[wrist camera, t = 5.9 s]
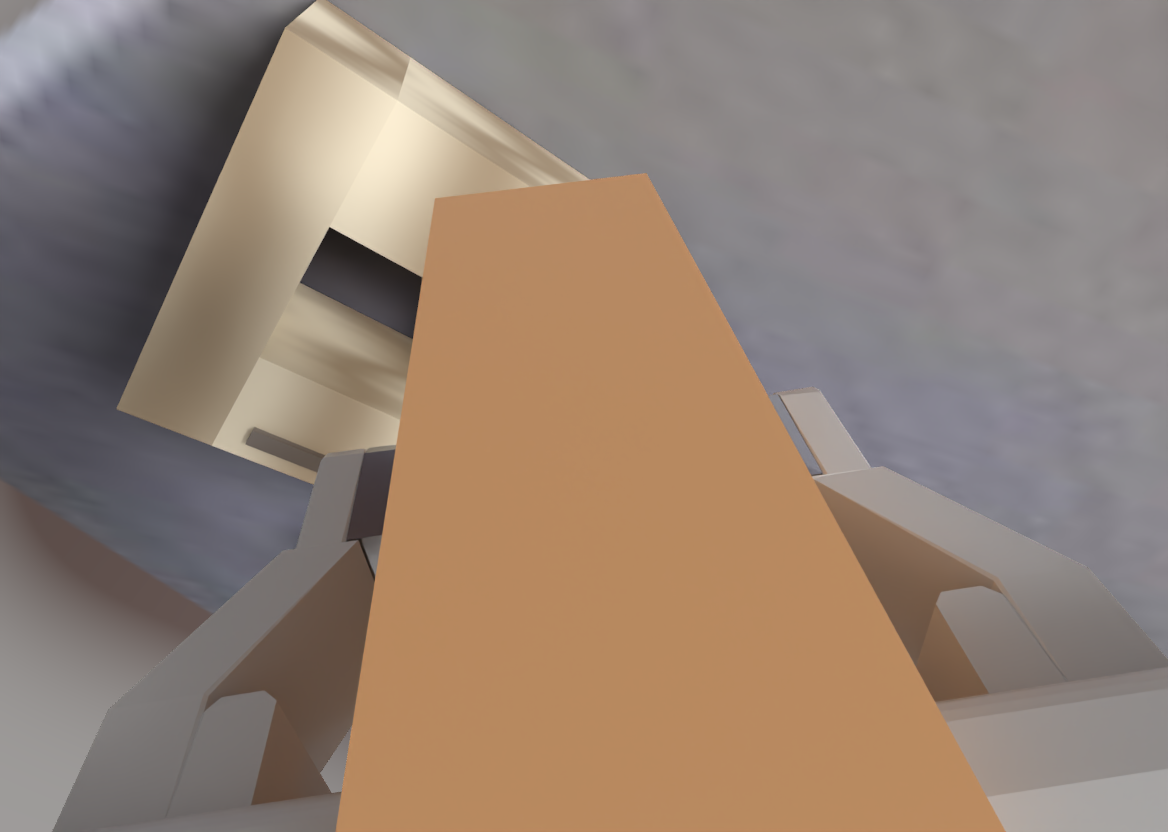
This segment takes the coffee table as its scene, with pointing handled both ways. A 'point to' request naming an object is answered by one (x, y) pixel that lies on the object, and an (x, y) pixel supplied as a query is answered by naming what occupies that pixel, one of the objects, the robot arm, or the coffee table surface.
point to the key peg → (618, 563)
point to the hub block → (293, 234)
